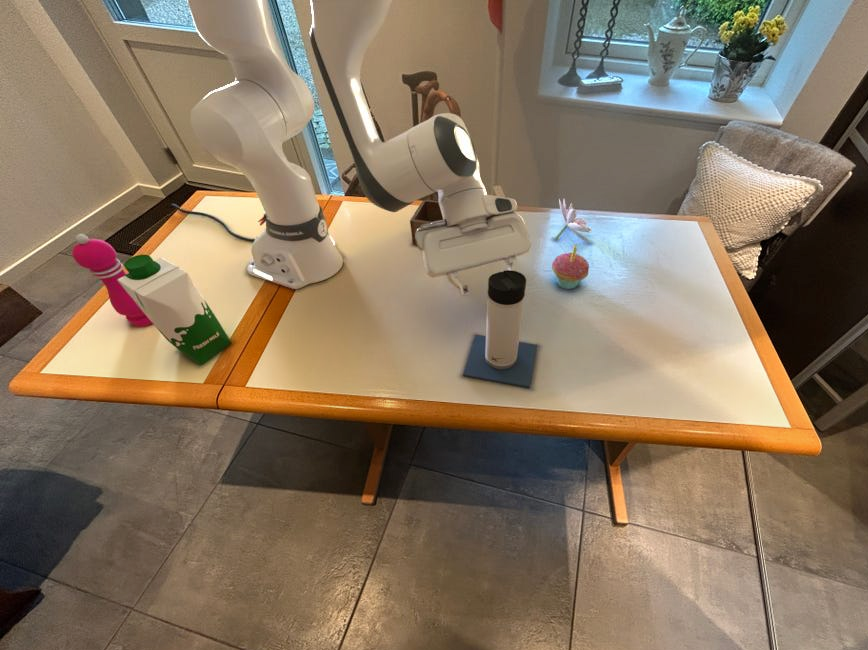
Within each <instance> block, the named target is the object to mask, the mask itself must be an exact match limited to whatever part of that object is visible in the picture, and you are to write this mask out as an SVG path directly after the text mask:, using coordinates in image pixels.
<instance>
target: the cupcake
mask: <svg viewBox="0 0 868 650" xmlns="http://www.w3.org/2000/svg"><path fill="white" fill-rule="evenodd" d="M577 249H578V246H577V243H575V244H574V246H573V250H572V252H565V253H562V254H560V255H557V256H555V258H554V259H553V261H552V264H551V270H552V272H553V274H555V276H556V280H557V284H558V285H559V287H561V288H563V289H566V290H573V289H575V288H576V287H578V285H579V283H580V282H581V281H582V280H584V279H585V278H586V277H588V275H589V272H590V271H589V270H590V264H589V262H588V260H587V259H586V258H585V257H583V256H581V255H580V254H578V253H577Z"/></svg>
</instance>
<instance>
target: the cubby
mask: <svg viewBox="0 0 868 650" xmlns="http://www.w3.org/2000/svg"><path fill="white" fill-rule="evenodd" d="M440 220H443V216H442V213H441V209H440V206H439V200H433V199H432V200H431V199H423V198H422V200H421V202H420V204H419V205H418V207H417V208H416V210H415V212H414V213H413V215H412V217H411V218H410V220H409V224H410V232H411V233H410V234H411V239H412V245H413V246H418V245H417V242H416V238H415V233H416V231H417V229H418V228H420V227H421V225H422V224H426V223H428V224H429V223H433V222H436V221H440ZM420 231H422V230H420Z"/></svg>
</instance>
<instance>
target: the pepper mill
mask: <svg viewBox="0 0 868 650" xmlns="http://www.w3.org/2000/svg"><path fill="white" fill-rule="evenodd" d="M74 240H75V241H76V244H75V245H74V246H73V248H72V252H71V254H72V258H73V259H74V261H75V262H76V263H77V264H78V265H79V266H80V267H82V268H85V269H88V272H89V273H90V274H91V275H92V277H94V278H95V279H99V280H100V281H101V282H102V283H103V285H104V287H105V288H106V291H107V294H108V298H109V301H110V305H111V306H112V308H113V310H114V311H115V312H116V313H117V314H119V315H122V316H124V317H125V318H126V320H127V321H128V322H129V323H130V324H131V325H132V326H134V327H141V328H142V327H147V326H150V325H154V324H153V323H152V322H151V321H150V319H149V318H148V317H147V316H146V315H145V313H144V312H143V311H142V310H141V309H140V307H139V306H138V305H137V304H136V302H135V301H134V300H133V299H132V297H131V296H130V295H129V294H128V293H127V292H126V290H125V289H124V288H123V286H122V285H121V284H120V283H119V281H118V279H119V278H121V277H124V275H126V274H127V273H126V271H125V270H124V263H121V261H120V259H118V258H117V251H116V250H115V248H114V247H113V246H112V245H111V244H110V243H109V242H106V241H105V240H102V239H98V238H89V237H88V236H87V235H86V234H83V233H78V234H76V235H75V237H74Z"/></svg>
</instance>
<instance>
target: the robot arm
mask: <svg viewBox="0 0 868 650" xmlns="http://www.w3.org/2000/svg"><path fill="white" fill-rule="evenodd" d="M186 1H187V5H188V8H189V12H190V15H191V17H192V20H193V24H194V27H195V29H196V31H197V34H198V35H199V36H200V37H201V39H202V40H203V41H204V42H205V43H206V44H207V45H208V46H210V47H211V48H213V49H214V50H215V51H217V52H218V53H220V54H223V55H224V56H225V57H226V58H227V60H228V62H229V63H230V65H231V67H232V70H233V72H234V78H235V80H234V82H232V83H230V84H227V85H225V86H223V87H220V88H218V89H215V90H213V91H210V92H209V93H208V94H207V95H205V96H204V97H203V98H202V99H201V100H199V102H198V103H196V105H194V106H193V107H192V108H191V111H190V113H189V121H190V126H191V130H192V132H193V135H194V138H195V139H196V141H197V142H198V144H199V146H201V148H202V149H203V150H204V151H205V152H206V154H208V155H209V156H211V157H212V158H214V159H215V160H217V161H218V162H221V164H224V165H226V166H227V165H228V166H231V167H233V168H235V169H236V170H238V171H239V172H240V173H242V174H243V176H245V178H246V179H247V180H248V181H249V183H250V184H251V186H252V187H253V189H254V191H255V193H256V195H257V197H258V199H259V201H260V203H261V206H262V208H263V210H264V213H263V216H262V217H260V219H259V220H258V221H257V222H258V223H259V226H262V225H264V224H265V228H264V229H263V231H261V233H260V234H258V235H257V236H256V237H255V238H249V237H245V236H242V235H239V234H237V233H235V232H233V231H232V230H231V229H230V228H229V227H228V225H227V224H226V223H225V222H224V221H223V220H221V219H219V218H218V217H216V216H214V215H212V214H209V213H206V212H200V211H192V210H186V209H185V208H184V209H183V208H182V207H180V206H178V205H177V204H175V203H171V204H170V205H169V208H170V209H173V208H175V209H176V210H178V211H180V212H181V213H184V214H190V215H195V216H196V215H197V216H204V217H206V218H210V219H212V220H214V221H215V222H217V223H219V224H220V225H221V226H223V228H224V229H225V230H226V232H227V233H228V234H229V235H231V236H232V237H234V238H237V239H239V240H242V241H245V242H249V243H250V242H252V245H251V249H250V251H251V256H252V257H251V258H250V260H249V261H248V264H247V267H246V271H247V274H248V275H250V276H253V277H256V278H259V279H262V280H265V281H268V282H271V283H274V284H277V285H280V286H283V287H286V288H289V289H292V290H298V289H299V290H300V289H301V288H303V287H305V286H307V285H311V284H314V283H319V282H323V281H325V280H327V279H329V278H332V277H333V276H335V275H336V274H337V273H338V272H339V271H340V270H341V268H342V267H343V263H344V258H343V256H342V255H341V253H340V252H339V250H338V249H337V247H336V242H335V241H334V239H333V237H332V236H331V235H330V233H329V230H328V223H327V220H326V217H325V213H324V211H323V208H322V206H321V205H320V204H319V201H318V198H317V194H316V191H315V189H314V184H313V181H312V178H311V176H310V174H309V173H308V171H307V170H306V169H305V168H303V167H302V166H300V165H299V164H296V163H293V162H290V161H289V160H288V159H287V156H286V155H285V153H284V150H283V143H286V142H287V141H288V140H290V139H292V138H293V137H294V136H296V135H298V134H300V133H301V132H302V131H303V130H304V129H305V127H306V126H307V125H308V124H309V123H310V121H311V120H312V118H313V117H314V114H315V100H314V97H313V93H312V92H311V90H310V88H309V86H308V84H307V83H306V81H305V80H304V79H303V78H302V77H301V76H300V75H299V74H298V73H296V72H294V71H293V70H292V68H291V67H290V65H289V64H288V62H287V60H286V58H285V56H284V55H283V52H282V50H281V48H280V45H279V43H278V39H277V37H276V34H275V29H274V26H273V21H272V17H271V13H270V9H269V4H268V0H186ZM392 3H393V0H310V6H311V14H312V24H311V27H310V30H309V39H310V44H311V48H312V51H313V55H314V58H315V61H316V64H317V67H318V70H319V72H320V75H321V77H322V81H323V83H324V86H325V88H326V91H327V94H328V97H329V99H330V102H331V104H332V107H333V109H334V112H335V114H336V117H337V120H338V121H339V125H340V128H341V130H342V132H343V135H344V137H345V140H346V143H347V145H348V148H349V151H350V154H351V156H352V160H353V164H354V169H355V172H356V176H357V180H358V183H359V186H360V188H361V191H362V192H363V194H364V197H366V199H367V200H368V201H369V202H370V203H371V204H373V205H374V206H376V207H377V208H380V209H383V210H384V211H387V212H390V213H397V212H399V211H401V210H403V209H404V208H406V207H408V206H410V205H412V204H414V202H416V201H419V200H421V199H423V198H424V197H428V196H430V195H432V194H435V193H437V197H438V199H437V201H439V206H440V209H441V213H442V216H443V220H440V221H436V222H433V223H429V224H428V223H426V224H422V225H421V227H420V228H418V229H417V231H416V233H415V238H416V242H417V245H416V246H417V247H418V249H420V250H421V253H422V255H421V256H422V260H423V266H424V271H425V273H426V275H427V276H429V277H430V278H432V279H434V278H437V277H438V278H439V277H441V276H445V275H446V276H447V277H446V278H447V281H448V282H450V284H452V286H453V287H455V289H457V293H458V296H459V298H462V297H466V296H468V295H470V291H469V286H468V285H467V284H464V285H463V284H462V283H461V282H460V281H459V280H458V279H457V278H458V277H459V273H458V272H461V271H466V270H469V269H473V268H477V267H481V266H485V265H489V264H493V263H496V262H500V261H504V263H505V266H508V268H507V270H512V271H516V267H517V262H518V261H517V257H520V256H523V255H525V254H528V253H529V252H530V250H531V247H532V242H531V238H530V234H529V231H528V228H527V225H526V223H525V221H524V219H523V217H522V216H521V215H520V214H519V213H517V212H516V211H517V210H518V204H517V201H516V200H515V198H512V197H505V196H504V197H503V196H497V195H491V194H488V192H487V189H486V186H485V184H484V183H483V181H482V178H481V167H480V162H479V159H478V158H479V157H478V155H477V152H476V150H475V146H474V143H473V139H472V137H471V135H470V133H469V131H468V129H467V127H466V124H465V123H464V120H463V119H462V118H461V117H460V116H459V115H458V114H455V113H452V112H451V113H450V112H443V113H438V114H435V115H433V116H431V117H429V119H426V120H424V121H422V122H420V123H418V124H416V125H415V126H413V127H410V129H408V130H406V131H404V132H402V133H400V134H398V135H397V136H394V137H392V138H391V139H388V140H387V141H382V140H381V138H380V136H379V133H378V131H377V128H376V125H375V122H374V118H373V116H372V113H371V110H370V108H369V104H368V102H367V99H366V98H367V97H366V95H365V93H364V90H363V86H362V81H361V80H362V79H361V71H362V65H363V61H364V59H365V56H366V54H367V52H368V50H369V48H370V46H371V44H372V43H373V41H374V40H375V38H376V36H377V35H378V33H380V30H381V29H382V27H383V25H384V23H385V21H386V20H387V17H388V15H389V13H390V9H391V6H392ZM180 208H181V209H180ZM420 230H422V231H420Z"/></svg>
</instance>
